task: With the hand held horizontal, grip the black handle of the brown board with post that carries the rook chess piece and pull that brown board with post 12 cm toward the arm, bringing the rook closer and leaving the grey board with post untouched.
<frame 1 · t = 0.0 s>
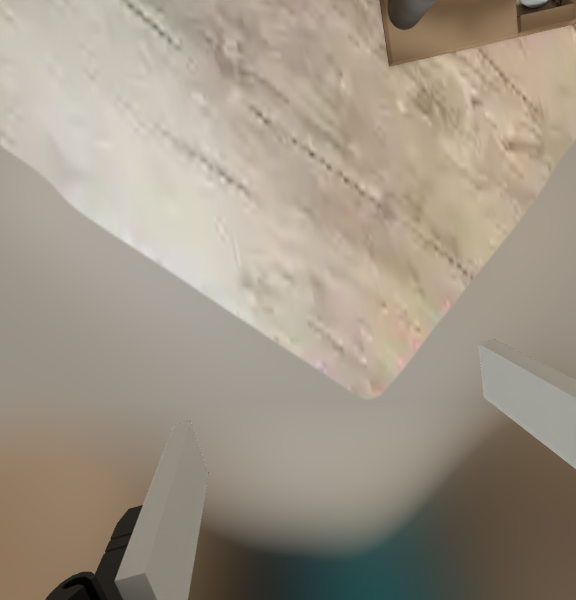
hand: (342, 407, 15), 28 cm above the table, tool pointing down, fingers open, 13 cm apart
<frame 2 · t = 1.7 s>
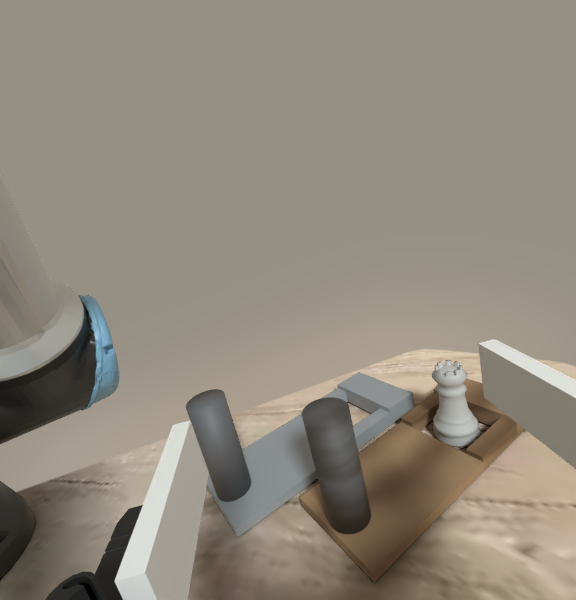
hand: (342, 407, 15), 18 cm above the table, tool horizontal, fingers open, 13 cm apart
brown board with post: (418, 410, 33), point 6 cm above the table, slide at 0.0 cm
grey board with post: (303, 401, 39), point 6 cm above the table, slide at 0.0 cm
rook chess piece: (456, 436, 37), resting in brown board with post
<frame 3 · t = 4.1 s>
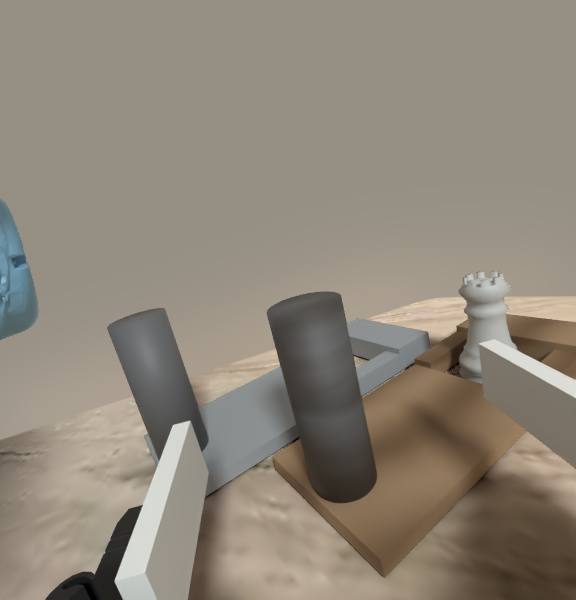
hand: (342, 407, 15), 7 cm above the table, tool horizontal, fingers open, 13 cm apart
brown board with post: (443, 332, 23), point 6 cm above the table, slide at 0.0 cm
grey board with post: (283, 337, 29), point 6 cm above the table, slide at 0.0 cm
rook chess piece: (492, 379, 27), resting in brown board with post
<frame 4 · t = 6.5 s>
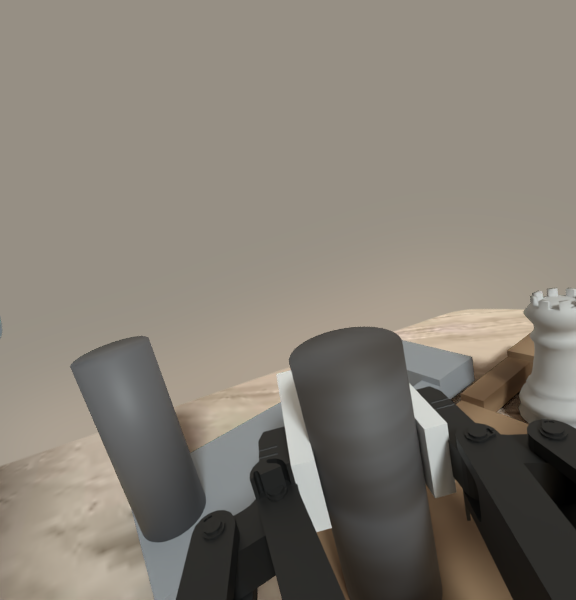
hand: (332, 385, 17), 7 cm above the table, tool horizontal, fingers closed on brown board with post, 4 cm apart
brown board with post: (514, 370, 17), point 6 cm above the table, slide at 0.0 cm, touching gripper
grey board with post: (299, 366, 23), point 6 cm above the table, slide at 0.0 cm
rook chess piece: (563, 422, 21), resting in brown board with post
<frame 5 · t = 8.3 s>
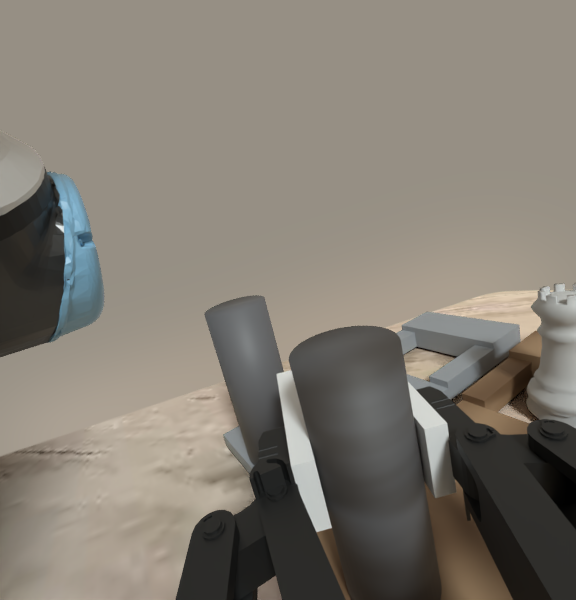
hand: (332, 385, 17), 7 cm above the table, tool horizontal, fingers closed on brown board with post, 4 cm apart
brown board with post: (514, 369, 17), point 6 cm above the table, slide at 6.7 cm, touching gripper, rook chess piece
grey board with post: (371, 329, 27), point 6 cm above the table, slide at 0.0 cm
rook chess piece: (570, 416, 21), resting in brown board with post
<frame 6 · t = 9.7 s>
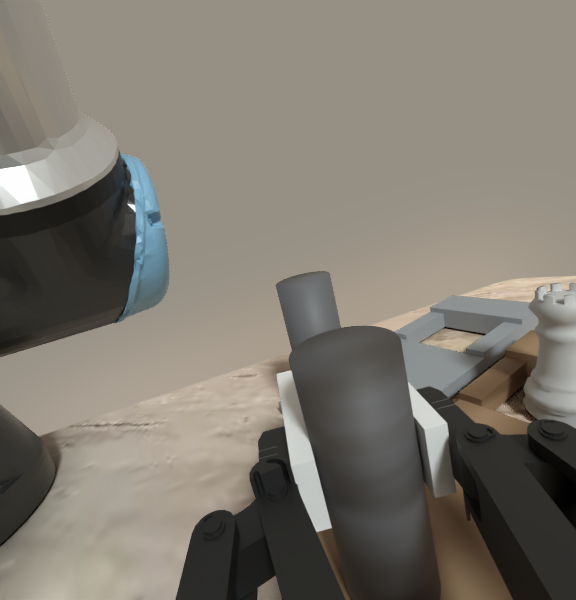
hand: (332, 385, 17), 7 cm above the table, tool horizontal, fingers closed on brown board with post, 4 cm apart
brown board with post: (512, 369, 17), point 6 cm above the table, slide at 11.8 cm, touching gripper, rook chess piece
grey board with post: (412, 306, 29), point 6 cm above the table, slide at 0.0 cm
rook chess piece: (566, 414, 22), resting in brown board with post
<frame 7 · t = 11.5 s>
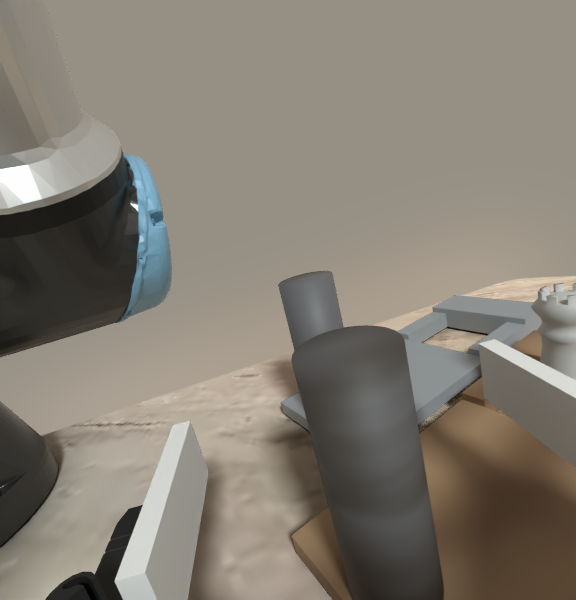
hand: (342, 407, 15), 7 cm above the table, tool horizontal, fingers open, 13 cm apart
brown board with post: (515, 369, 17), point 6 cm above the table, slide at 11.9 cm
grey board with post: (415, 306, 29), point 6 cm above the table, slide at 0.0 cm
rook chess piece: (570, 415, 22), resting in brown board with post
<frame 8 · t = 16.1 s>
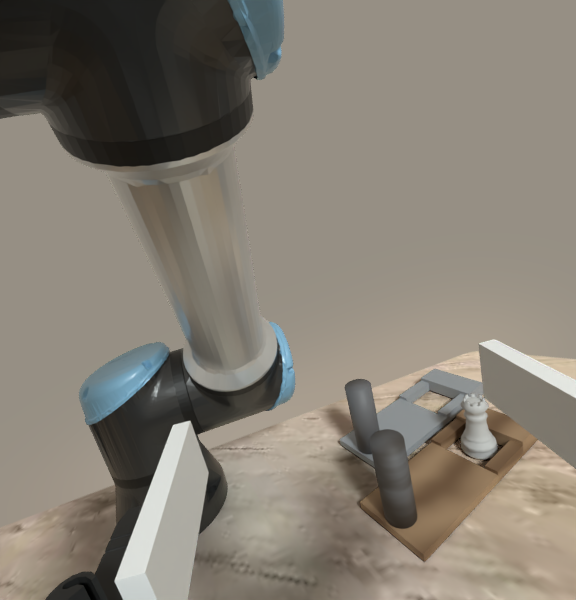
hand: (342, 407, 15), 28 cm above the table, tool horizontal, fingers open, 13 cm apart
brown board with post: (448, 435, 43), point 6 cm above the table, slide at 11.9 cm
grey board with post: (409, 388, 55), point 6 cm above the table, slide at 0.0 cm
rook chess piece: (479, 451, 47), resting in brown board with post
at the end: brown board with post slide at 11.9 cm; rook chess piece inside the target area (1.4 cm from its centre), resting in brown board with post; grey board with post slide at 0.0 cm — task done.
